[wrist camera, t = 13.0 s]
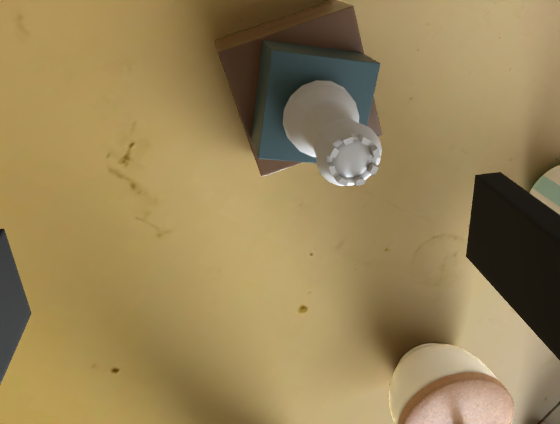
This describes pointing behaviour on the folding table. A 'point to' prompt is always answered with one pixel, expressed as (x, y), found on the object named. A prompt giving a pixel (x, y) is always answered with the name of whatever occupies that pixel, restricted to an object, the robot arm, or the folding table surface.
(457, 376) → the trinket box
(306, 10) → the base block
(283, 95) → the top block
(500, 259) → the robot arm
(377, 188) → the folding table surface
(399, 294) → the folding table surface
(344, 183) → the rook chess piece
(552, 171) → the can
